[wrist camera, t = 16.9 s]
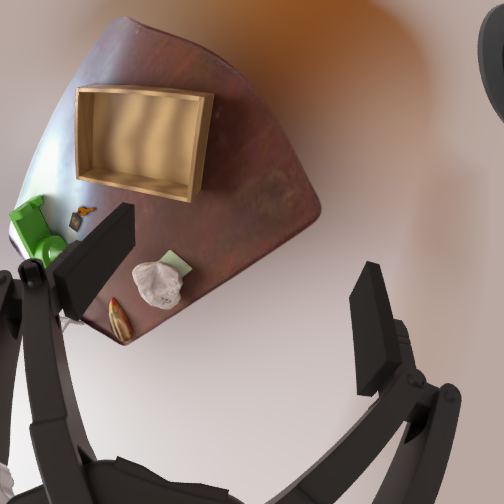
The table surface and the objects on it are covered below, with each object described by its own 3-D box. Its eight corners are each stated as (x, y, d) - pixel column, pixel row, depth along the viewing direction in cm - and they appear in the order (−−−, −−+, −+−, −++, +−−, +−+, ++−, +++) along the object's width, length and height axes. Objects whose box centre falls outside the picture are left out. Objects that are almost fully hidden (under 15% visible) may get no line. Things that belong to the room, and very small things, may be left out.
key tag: (76, 233, 52) (74, 234, 52) (66, 222, 51) (64, 223, 51) (94, 208, 49) (92, 210, 48) (83, 197, 48) (81, 198, 47)
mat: (170, 249, 51) (170, 249, 51) (192, 268, 53) (192, 268, 52) (139, 280, 56) (139, 281, 56) (159, 296, 58) (159, 297, 58)
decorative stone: (99, 294, 61) (95, 300, 60) (119, 297, 60) (115, 303, 59) (119, 338, 69) (116, 344, 68) (138, 342, 68) (135, 348, 67)
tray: (214, 93, 36) (204, 97, 32) (200, 190, 44) (190, 203, 41) (93, 83, 37) (75, 88, 33) (92, 168, 45) (76, 179, 41)
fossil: (179, 263, 48) (178, 321, 50) (189, 255, 55) (186, 307, 57) (129, 257, 48) (130, 313, 50) (143, 250, 55) (143, 301, 57)
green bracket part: (60, 259, 58) (73, 258, 56) (41, 279, 52) (53, 279, 50) (31, 197, 50) (43, 193, 48) (8, 215, 44) (18, 211, 43)
